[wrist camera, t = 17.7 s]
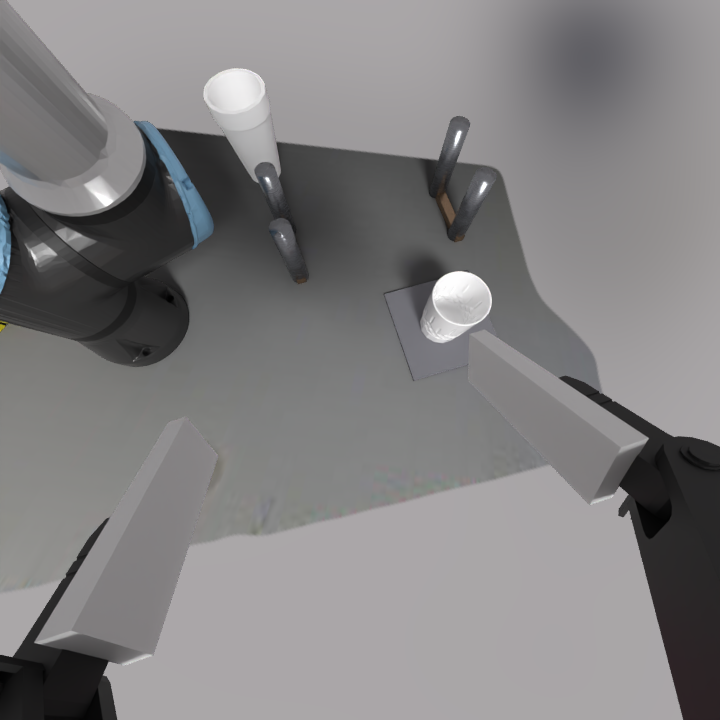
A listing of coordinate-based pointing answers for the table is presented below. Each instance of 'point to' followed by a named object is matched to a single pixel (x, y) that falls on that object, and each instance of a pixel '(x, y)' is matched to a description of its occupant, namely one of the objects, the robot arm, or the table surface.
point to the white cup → (455, 306)
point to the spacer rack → (457, 224)
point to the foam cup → (244, 116)
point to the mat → (416, 346)
